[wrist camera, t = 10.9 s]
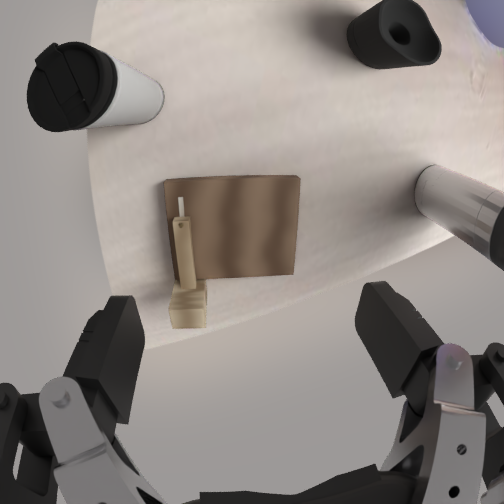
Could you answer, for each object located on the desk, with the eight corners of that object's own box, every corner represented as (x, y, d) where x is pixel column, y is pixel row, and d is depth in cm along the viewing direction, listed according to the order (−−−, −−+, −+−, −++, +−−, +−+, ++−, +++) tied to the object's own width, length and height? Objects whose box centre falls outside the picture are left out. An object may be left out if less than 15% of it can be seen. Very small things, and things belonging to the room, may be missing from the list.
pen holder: (338, 57, 28) (375, 42, 19) (347, 6, 24) (382, -17, 15) (394, 81, 30) (439, 78, 21) (401, 32, 26) (442, 20, 17)
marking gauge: (200, 211, 36) (195, 235, 29) (207, 292, 42) (205, 327, 35) (168, 212, 35) (155, 237, 28) (178, 293, 41) (172, 328, 34)
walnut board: (296, 175, 35) (300, 178, 34) (290, 267, 42) (293, 274, 40) (166, 179, 34) (163, 182, 32) (177, 272, 40) (175, 280, 38)
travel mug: (151, 67, 27) (80, 18, 9) (172, 108, 30) (114, 93, 12) (110, 92, 27) (12, 80, 9) (130, 132, 30) (41, 153, 12)
